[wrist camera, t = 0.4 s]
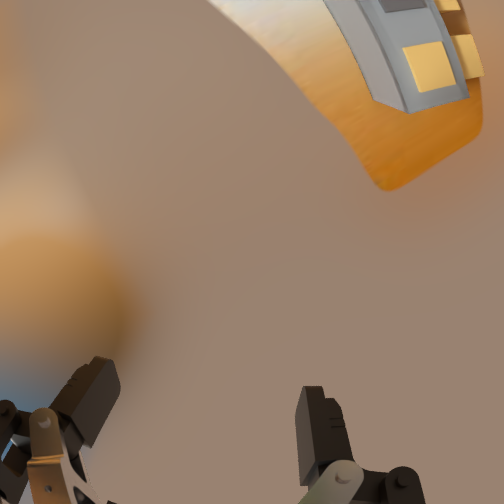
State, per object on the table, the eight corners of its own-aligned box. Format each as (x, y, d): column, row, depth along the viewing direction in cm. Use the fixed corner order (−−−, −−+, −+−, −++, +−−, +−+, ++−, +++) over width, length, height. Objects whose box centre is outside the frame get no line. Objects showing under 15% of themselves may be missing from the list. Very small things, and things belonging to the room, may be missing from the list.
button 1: (398, 43, 20) (418, 40, 16) (448, 35, 17) (471, 34, 13) (414, 82, 23) (435, 86, 19) (461, 71, 20) (485, 75, 16)
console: (317, -8, 20) (334, -40, 11) (372, -20, 17) (407, -47, 8) (373, 99, 28) (412, 115, 19) (422, 85, 25) (473, 98, 16)
